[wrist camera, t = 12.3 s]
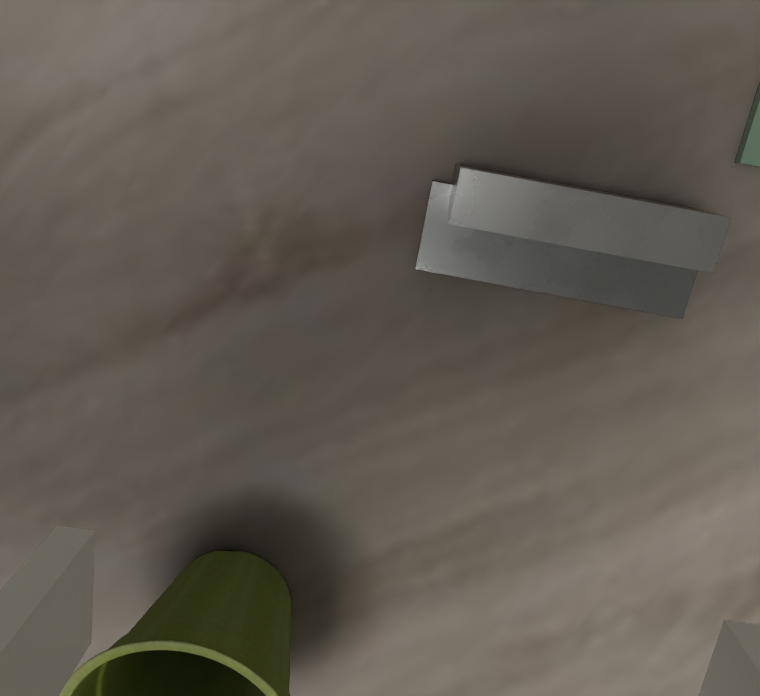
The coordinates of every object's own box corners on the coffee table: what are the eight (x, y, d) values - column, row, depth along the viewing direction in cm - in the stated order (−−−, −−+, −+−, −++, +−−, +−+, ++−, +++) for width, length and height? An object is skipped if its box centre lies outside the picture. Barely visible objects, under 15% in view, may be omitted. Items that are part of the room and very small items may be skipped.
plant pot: (121, 642, 45) (26, 798, 34) (170, 486, 42) (83, 606, 31) (295, 703, 46) (255, 876, 35) (357, 554, 42) (335, 694, 32)
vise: (415, 266, 37) (414, 284, 33) (515, -250, 31) (532, -322, 26) (677, 315, 37) (714, 340, 32) (833, -192, 31) (909, -254, 26)
